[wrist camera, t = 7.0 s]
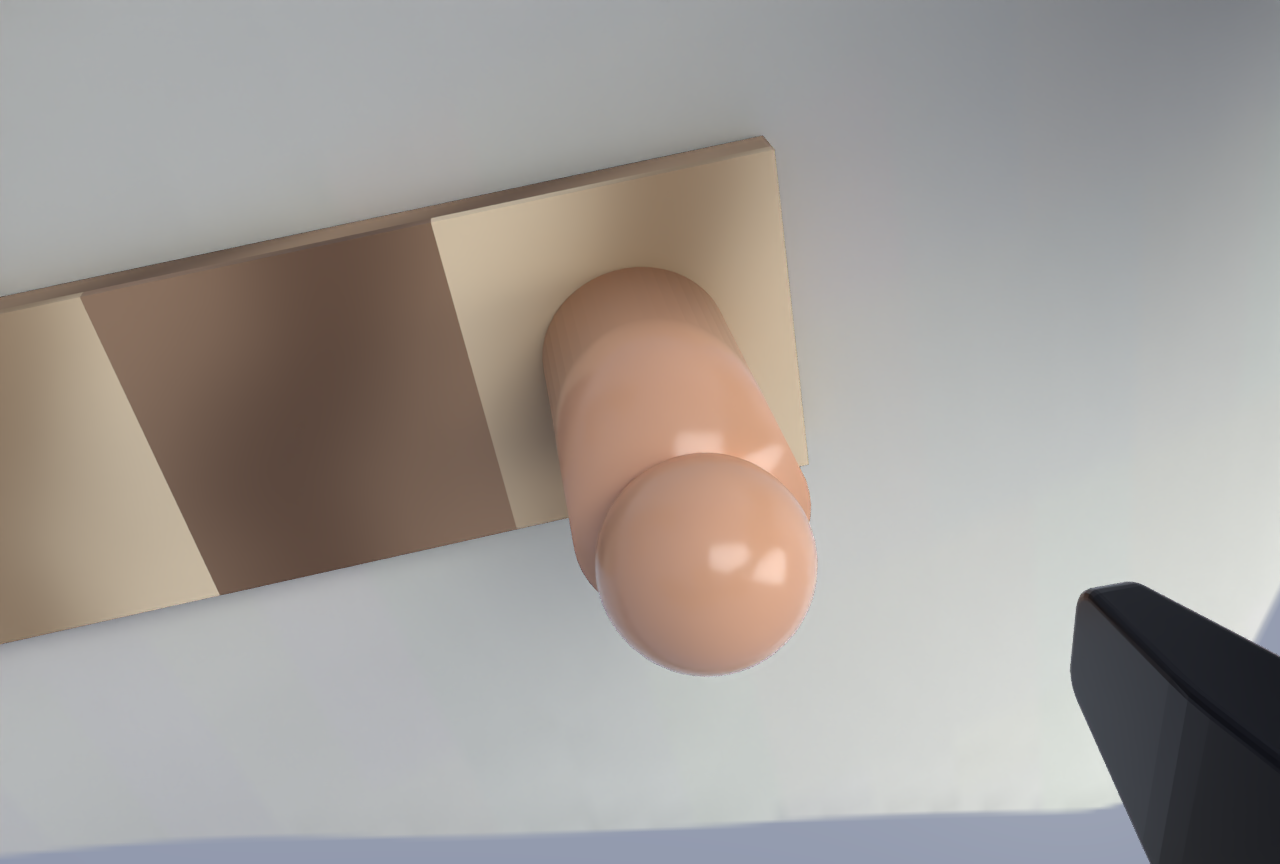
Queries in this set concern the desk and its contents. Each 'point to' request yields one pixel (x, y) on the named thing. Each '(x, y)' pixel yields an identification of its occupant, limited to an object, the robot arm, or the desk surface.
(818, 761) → the desk surface
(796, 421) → the track
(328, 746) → the desk surface
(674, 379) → the tan rounded peg
